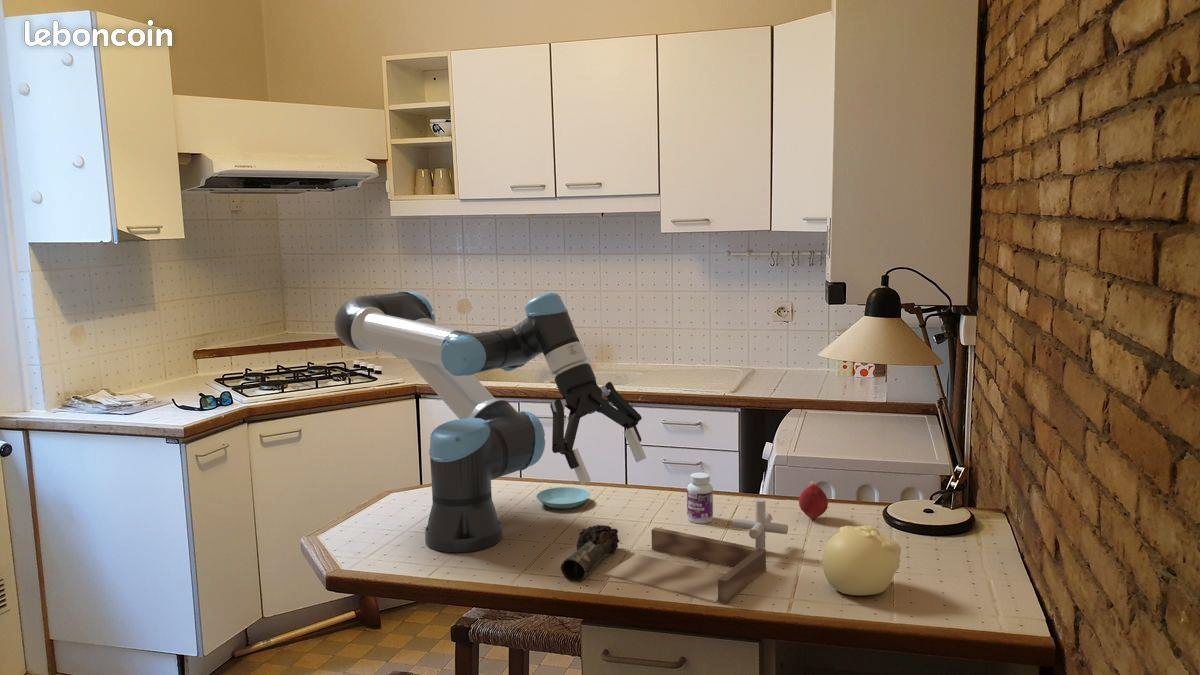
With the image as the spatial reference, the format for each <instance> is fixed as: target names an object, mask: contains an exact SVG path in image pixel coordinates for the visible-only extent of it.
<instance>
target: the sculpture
mask: <svg viewBox="0 0 1200 675" xmlns="http://www.w3.org/2000/svg"><path fill="white" fill-rule="evenodd" d="M824 546H825V547H824V549H823V553H822V557H821V566H822V571H823V574H824V576H825V578H826V580H827V582H828V583H829V585H830V586H831V587H832V588H834V589H835V590H836V591H838V592H840V593H842V594H846V595H849V596H850V595H851V596H873V595H878V594H880V593H882V592H884V591H885V590H886V589H887V588H888V587H889V585H890V584H891V582H892V580H893V578H894V576H895V574H896V572H897V571H898V570H899V569H900V565H901V564H900V563H901V559H900V557H901V556H900V555H901V554H902V549H901V546H900V545H899V543H898V542H896V541H894V540H892V539H891V538H888V537H887V536H885V535H884V534H881V533H880V531H879V530H878V529H877V528H875V527H873V526H872V525H863V526H862V525H861V526H859V525H858V526H857V525H856V526H855V525H844V526H840V527H839V529H838V532H837V533H835V534H834V535H833V536H831V538H830V539H829V540H828V542H827V543H826V545H824Z"/></svg>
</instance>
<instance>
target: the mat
mask: <svg viewBox="0 0 1200 675" xmlns="http://www.w3.org/2000/svg"><path fill="white" fill-rule="evenodd" d="M724 574H726V572H724V573H723V572H720V571H717V570H716V571H715V570H711V569H706V568H703V567H702V568H701V567H697V566H694V565H691V564H685V563H684V564H683V563H680V562H676V561H671V560H666V559H662V558H658V557H654V556H650V555H645V554H640V553H636V554H634V555H633V556H631V557H629V558H628V559H626V560H624V561H622V562H621V563H619V564H618V565H616V566H614V567H613V568H611V569H610V570H608V571H607V572H605V573H604V574H603V575H604V576H606V577H610V578H614V579H619V580H622V581H626V582H631V583H634V584H639V585H642V586H647V587H651V588H654V589H659V590H662V591H666V592H672V593H675V594H679V595H683V596H687V597H691V598H695V599H700V600H703V601H707V602H712V603H716V604H717V603H718V579H719V578H720V577H722V576H723V575H724Z"/></svg>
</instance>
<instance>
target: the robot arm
mask: <svg viewBox="0 0 1200 675" xmlns="http://www.w3.org/2000/svg"><path fill="white" fill-rule="evenodd" d="M430 303H431V302H430V301H429V300H428V299H427V298H426V297H425V296H423V295H422V294H421V293H418V292H415V291H405V290H402V291H399V290H398V291H394V292H390V293H379V294H370V295H360V296H359V295H358V296H355V297H352V298H350V299H348V300H347V301H345V302H344V303H343V304H342V305H341V306H340V307H339V309H338V310H337V311H336V314H335V317H334V321H333V322H334V331H335V333H336V336H337V338H338V339H339V341H340V342H341V343H343V344H344V345H345V346H347V347H349V348H351V349H353V350H357V351H361V352H365V353H366V352H367V353H368V352H369V353H371V352H373V351H376V350H378V351H381V352H386V353H390V354H392V355H393V356H394V357H395V358H396V359H400V360H406V361H407V362H408V363H409V364H410V365H411V366H412V368H413V369H414V370H415V371H416V372H417V373H418V374H419V375H420V377H421V378H422V379H423V380H424V381H425V382H426V383H427V385H429V387H431V389H432V390H433V391H434V393H436V395H438V397H439V398H440V399H441V400H442V401H443V402H444V404H445V405H446V406H447V407H448V408H449V409H450V410H451V411H452V413H453V414H454V415H455V416H456V417H457V418H458V419H453V420H449V421H446V422H444V423H442V424H440V425H438V426H437V427H435V428H434V429H433V430H432V432H431V434H430V437H429V441H430V442H429V450H428V453H429V454H428V455H429V461H430V463H429V464H430V475H431V496H432V497H431V498H432V499H431V500H432V505H431V508H430V513H429V516H428V521H427V522H428V523H427V525H426V527H425V530H424V537H425V538H424V540H425V546H427V547H429V548H430V549H432V550H434V551H435V550H436V551H438V552H444V553H445V552H446V553H467V552H474V551H480V550H484V549H487V548H489V547H492V546H495V545H496V544H497V543H499V542H500V541H501V540H502V538H503V528H502V527H503V526H502V522H501V521H500V520H499V519H498V514H497V511H496V507H495V504H494V502H493V497H492V496H493V495H492V494H493V492H492V481H493V480H495V479H498V478H501V477H504V476H506V475H510V474H512V473H515V472H518V471H524V470H526V469H528V468H530V467H531V466H534V465H535V464H536V463H538V462H539V460H541V458H542V456H543V454H544V452H545V447H546V439H545V436H546V434H545V430H544V426H543V424H542V422H541V421H540V419H539V417H538V416H536V415H535V414H534V413H532V412H531V411H525V410H521V411H517V410H516V409H515V407H513V405H511V403H510V402H509V401H508V400H506V399H503V398H500V399H499V398H498V399H497V398H495V397H494V396H493V395H492V394H491V392H490V391H488V389H487V388H486V387H485V386H484V384H482V383H481V381H480V380H478V378H477V377H476V376H475V374H480V373H485V372H488V371H493V370H498V369H499V370H504V371H505V372H512V371H514V370H517V369H518V368H521V367H524V366H525V364H528V362H530V361H532V360H533V359H535V358H536V357H538V356H540V355H541V354H543V356H544V358H545V361H546V364H547V366H548V368H549V370H550V374H551V375H552V376H554V382H555V385H556V387H557V390H558V391H559V394H560V395H561V396H562V399H559V398H557V399H555V400H554V401H552V402H551V403H550V405H549V407H550V410H551V413H552V432H551V433H552V438H551V439H552V441H551V450H552V453H554V454H558V453H559V454H561V455H562V456H563V455H564V457H565V459H566V462H567V464H568V466H569V468H570V470H573V469H574V472H575V474H576V477H577V479H578V482H579V484H580V486H583V485H585V484H587V483H590V482H591V481H592V480H591V478H590V475H589V473H588V471H587V468H586V465H585V463H584V461H583V458H582V456H581V454H580V452H579V449H578V448H576V447H575V448H574V445H575V441H576V440H575V439H576V435H577V432H578V429H579V424H580V420H581V418H583V417H585V416H586V415H592V414H594V413H596V412H597V413H600V414H602V415H604V416H605V417H606V418H607V417H608V419H610V420H611V421H613V422H615V423H616V424H618V425H619V426H621V427H623V428H624V429H625V430H623V432H622V433H623V434H624V437H625V439H626V441H627V442H626V443H627V444H628V446H629V449H630V450H631V454H632V456H633V458H634V460H635V462H636V463H640V462H641V461H643V460H645V459H647V455H646V453H645V451H644V449H643V447H642V445H641V442H642V436H641V435H640V432H639V430H638V428H637V425H638V424H639V422H640V421H641V420H642V418H643V417H642V415H641V414H640V413H639V412H638V411H637V409H635V408H634V407H633V406H632V405H631V404H630V403H629V402H628V401H627V400H626V399H625V398H624V397H623V396H622V395H621V394H620V393H619V392H618V391H617V390H616V388H615V386H614V385H613V383H612V382H611V381H608V382H606V383H605V384H603V385H601V386H599V385H598V383H597V378H596V376H595V373H594V371H593V368H592V366H591V364H590V363H587V362H588V356H587V355H586V352H585V350H584V348H583V345H582V343H581V341H580V339H579V337H578V334H577V332H576V330H575V327H574V325H573V322H572V319H571V317H570V314H569V310H568V309H567V307H566V306H565V304H564V302H563V300H562V298H561V296H560V295H559V294H558V293H556V292H549V293H548V292H547V293H544V294H541V295H538V296H536V297H534V298H532V299H530V300H529V301H528V302H527V303H526V304H525V306H524V311H525V315H526V318H524V319H523V320H522V321H520V322H518V323H517V324H516V325H515V326H511V327H508V328H503V329H496V330H489V331H482V332H468V331H463V330H459V329H455V328H450V327H447V326H446V327H445V326H441V325H437V324H436V317H435V316H436V315H435V314H434V313H433V306H432V304H430ZM602 396H603V397H605V398H606V399H604V398H603V397H602ZM607 400H608V401H607ZM566 408H567V410H569V413H568V417H567V418H568V419H567V420H568V422H567V425H566V430H565V409H566Z"/></svg>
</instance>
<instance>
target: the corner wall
mask: <svg viewBox="0 0 1200 675" xmlns="http://www.w3.org/2000/svg"><path fill="white" fill-rule="evenodd" d="M650 534H651V551H655V552H660V553H665V554H668V555H669V554H670V555H674V556H679V557H682V558H688V559H692V560H696V561H699V562H700V561H701V562H705V563H710V564H713V565H720V566H723V567H727V566H729V567H728V568H731V569H729V570H727V572H725V574H724V575H723V576H722V577H720V578H719V579H718V601H717V603H719V604H723V605H728V604H729V603H730V602H732V600H734V599H735V598H736V597H738V595H740V594H741V593H742V592H744V591H745V590H746V589H747V588H748V587H749V586H750V585H752V584H753V583H754V582H755V581H757V580H758V579H759V578H760V577H761V576H763V573H764V574H765V573H766V572H767V550H766V549H765V550H764V549H759V548H756V546H755V547H754V546H749V545H744V544H739V543H735V542H729V541H724V540H720V539H714V538H711V537H710V538H708V537H704V536H699V535H694V534H691V533H684V532H680V531H675V530H671V529H666V528H660V527H653V528H652V529H651V533H650ZM732 567H733V568H732Z"/></svg>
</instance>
